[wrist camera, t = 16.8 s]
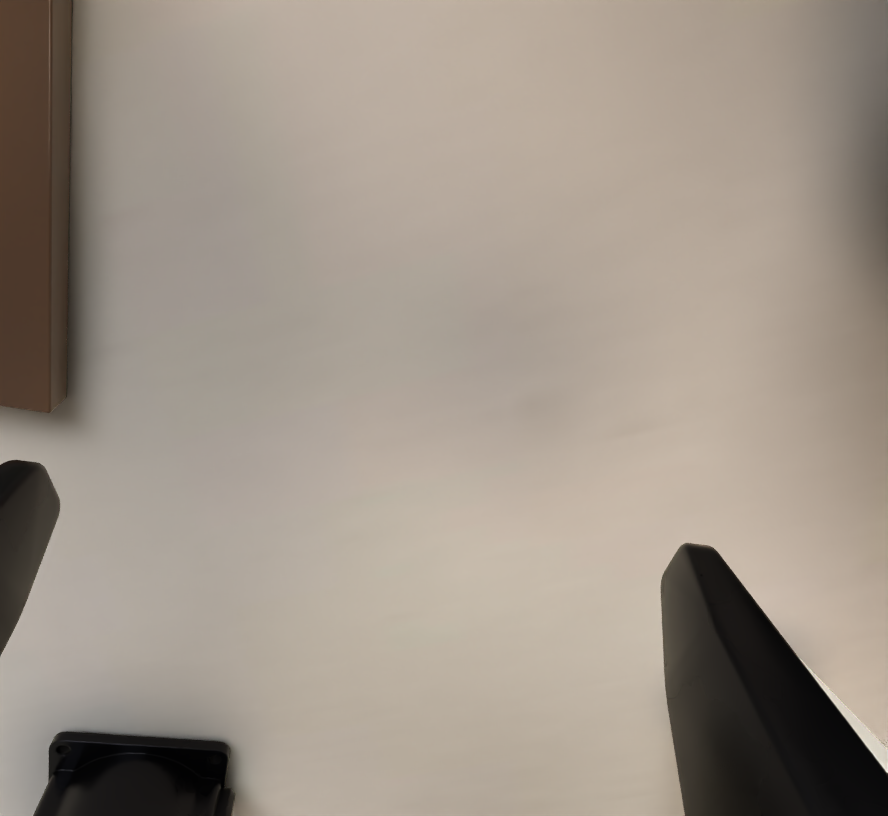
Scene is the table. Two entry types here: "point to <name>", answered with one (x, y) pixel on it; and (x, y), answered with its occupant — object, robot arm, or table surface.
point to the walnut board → (34, 201)
